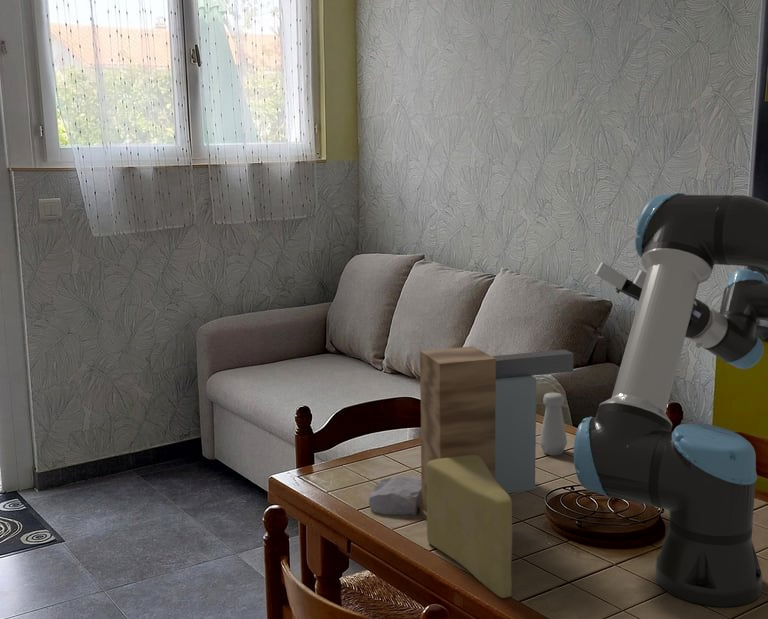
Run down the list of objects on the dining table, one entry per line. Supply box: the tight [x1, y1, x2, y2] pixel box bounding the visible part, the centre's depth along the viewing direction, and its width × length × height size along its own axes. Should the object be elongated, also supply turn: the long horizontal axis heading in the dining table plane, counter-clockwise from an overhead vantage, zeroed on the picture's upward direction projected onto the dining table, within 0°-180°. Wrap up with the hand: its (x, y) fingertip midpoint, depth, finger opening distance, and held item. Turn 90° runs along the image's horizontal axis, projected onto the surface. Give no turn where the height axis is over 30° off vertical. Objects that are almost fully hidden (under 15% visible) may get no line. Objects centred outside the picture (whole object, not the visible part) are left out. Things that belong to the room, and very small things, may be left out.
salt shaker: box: [538, 392, 568, 457], centre depth 193 cm, size 6×6×13 cm
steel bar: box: [491, 349, 575, 379], centre depth 173 cm, size 4×24×4 cm, turn 107°
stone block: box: [368, 475, 422, 516], centre depth 169 cm, size 12×5×10 cm
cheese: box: [426, 455, 513, 599], centre depth 142 cm, size 22×10×15 cm, turn 17°
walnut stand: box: [417, 345, 496, 522], centre depth 158 cm, size 11×11×30 cm
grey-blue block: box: [495, 376, 537, 495], centre depth 174 cm, size 8×14×22 cm, turn 107°
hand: (617, 272), depth 172 cm, fingers open, 13 cm apart
